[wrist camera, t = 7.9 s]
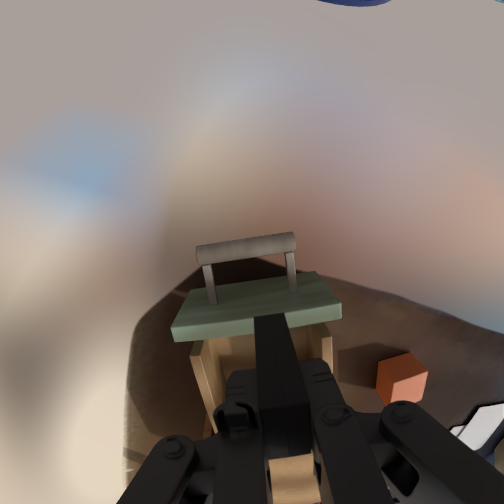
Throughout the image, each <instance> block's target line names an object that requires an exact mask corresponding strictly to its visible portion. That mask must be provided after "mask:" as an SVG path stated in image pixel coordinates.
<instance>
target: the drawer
mask: <svg viewBox="0 0 504 504" xmlns="http://www.w3.org/2000/svg"><path fill="white" fill-rule="evenodd" d="M295 250H296V241H295V236H294V233H293V232H287V233H280V234H273V235H266V236H259V237H253V238H246V239H240V240H233V241H227V242H220V243H214V244H207V245H201V246H197V247H196V257H197V261H198V264H199V265H202V268H203V273H204V278H205V283H206V287H204V288H197V289H191V290H190V291H189V293H188V295H187V297H186V299H185V301H184V303H183V305H182V306H181V308H180V310H179V312H178V314H177V316H176V318H175V320H174V322H173V324H172V325H171V332H172V335H173V339H174V342H184V341H194V344H193V347H192V350H191V353H190V356H189V357H190V360H191V364H192V367H193V370H194V373H195V377H196V380H197V383H198V386H199V389H200V392H201V395H202V398H203V401H204V404H205V407H206V410H207V413H208V416H209V419H210V421H211V424H212V427H213V430H214V432H215V434H216V433H217V432H218V431H217V428H216V425H215V422H214V419H213V416H212V415H213V412H214V410H215V409H216V408H217V407H218V406H219V405H220V404H222V403H224V402H226V391H227V380H228V378H229V376H230V375H231V373H232V372H233V371H236V370H246V369H254V368H256V354H255V336H254V318H253V317H255V316H263V315H270V314H277V313H283V312H284V314H285V317H286V321H287V324H288V327H289V331H290V334H291V338H292V341H293V344H294V348H295V351H296V355H297V358H298V361H303V360H309V359H314V358H319V357H320V358H321V359H323V360H324V361H325V362H327V363H328V365H329V367H330V369H331V372H332V374H333V359H332V336H331V334H330V332H329V330H328V329H327V327H326V325H325V323H324V322H326V321H331V320H336V319H341V318H342V309H341V302H340V301H339V300H338V298H337V297H336V296H335V295H334V293H333V292H332V291H331V290H330V289H329V287H328V286H327V285H326V284H325V283H324V281H323V280H322V279H321V278H320V276H319V275H318V274H317V273H316V272H315V271H311V272H305V273H298V274H296V271H295V262H294V254H293V251H295ZM279 253H284V254H285V262H286V270H287V275H286V276H279V277H273V278H266V279H260V280H253V281H246V282H240V283H233V284H226V285H219V286H215V282H214V277H213V272H212V267H211V264H212V263H219V262H226V261H232V260H239V259H246V258H252V257H259V256H266V255H272V254H279Z"/></svg>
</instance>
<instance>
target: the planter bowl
mask: <svg viewBox="0 0 504 504" xmlns="http://www.w3.org/2000/svg"><path fill="white" fill-rule="evenodd" d="M494 454H495V468H496V469H497V470H498V471H500V472H501V473H502V474H503V475H504V438H503V439H502V440H501V441H500V443H499V444H498V445H497V447H496V448H495V450H494Z"/></svg>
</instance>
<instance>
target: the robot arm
mask: <svg viewBox="0 0 504 504" xmlns="http://www.w3.org/2000/svg"><path fill="white" fill-rule="evenodd" d="M496 1H498V2H502V3H504V0H496ZM253 318H254V336H255V354H256V368H254V369H246V370H236V371H233V372H232V373H231V375H230V376H229V378H228V380H227V391H226V402H224V403H222V404H220V405H219V406H218V407H217V408H216V409H215V410H214V412H213V415H212V416H213V419H214V422H215V425H216V428H217V431H218V432H217V433H216V434H214V435H213V436H211V437H208V438H206V439H202V440H198V441H194V442H192V441H191V440H190V439H189V438H187V437H185V436H182V435H172V436H168V437H165V438H163V439H161V440H160V441H159V442H158V443H157V444H156V445H155V446H154V448H153V449H152V451H151V452H150V454H149V455H148V457H147V458H146V460H145V461H144V463H143V464H142V466H141V467H140V469H139V471H138V472H137V474H136V475H135V477H134V478H133V480H132V481H131V483H130V484H129V486H128V487H127V489H126V490H125V492H124V493H123V495H122V496H121V498H120V499H119V500H118V502H117V503H116V504H210V503H211V501H212V504H273V493H272V482H271V471H270V467H269V460H272V459H280V458H287V457H294V456H300V455H306V454H311V449H312V454H313V476H315V475H316V479H317V484H318V489H319V493H320V498H321V502H322V504H394V501H393V499H392V496H391V494H390V492H389V489H390V490H391V491H392V493H393V494H394V495H395V496H396V497H397V498H398V500H399V501H400V502H401V503H402V504H504V475H503V474H502V473H501V472H500V471H498V470H497V469H496V468H495V467H493V466H492V465H491V464H490V463H488V462H487V461H486V460H485V459H483V458H482V457H481V456H480V455H478V454H477V453H476V452H475V451H473V450H472V449H471V448H470V447H468V446H467V445H466V444H465V443H464V442H462V441H461V440H460V439H459V438H457V437H456V436H455V435H454V434H452V433H451V432H450V431H449V430H448V429H446V428H445V427H444V426H443V425H441V424H440V423H439V422H438V421H437V420H435V419H434V418H433V417H432V416H430V415H429V414H428V413H427V412H426V411H424V410H423V409H422V408H421V407H420V406H418V405H417V404H415V403H413V402H411V401H406V400H400V401H395V402H392V403H389V404H388V405H387V406H386V407H384V409H383V411H382V413H360V412H356V411H354V410H353V409H352V408H351V407H350V406H348V405H346V403H345V401H344V399H343V396H342V394H341V392H340V390H339V387H338V385H337V383H336V380H335V379H334V376H333V374H332V372H331V369H330V367H329V365H328V363H327V362H325V361H324V360H323V359H321V358H320V357H319V358H314V359H309V360H303V361H298V358H297V355H296V351H295V348H294V344H293V341H292V338H291V334H290V331H289V327H288V324H287V321H286V317H285V314H284V312H283V313H277V314H270V315H263V316H255V317H253ZM388 488H389V489H388Z"/></svg>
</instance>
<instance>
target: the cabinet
mask: <svg viewBox="0 0 504 504" xmlns="http://www.w3.org/2000/svg"><path fill="white" fill-rule="evenodd" d="M214 434H215V432H214V430H213V427H212V424H211V421H210V419H209V416H208V413H207V412H206V418H205V425H204V431H203V438H202V439H206V438H208V437H211V436H213V435H214ZM269 467H270V471H271V482H272V493H273V504H312V503H317V502H321V498H320V493H319V489H318V484H317V479H316V475H315V476H313V454H312V449H311V454H306V455H300V456H294V457H287V458H280V459H272V460H269Z"/></svg>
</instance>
